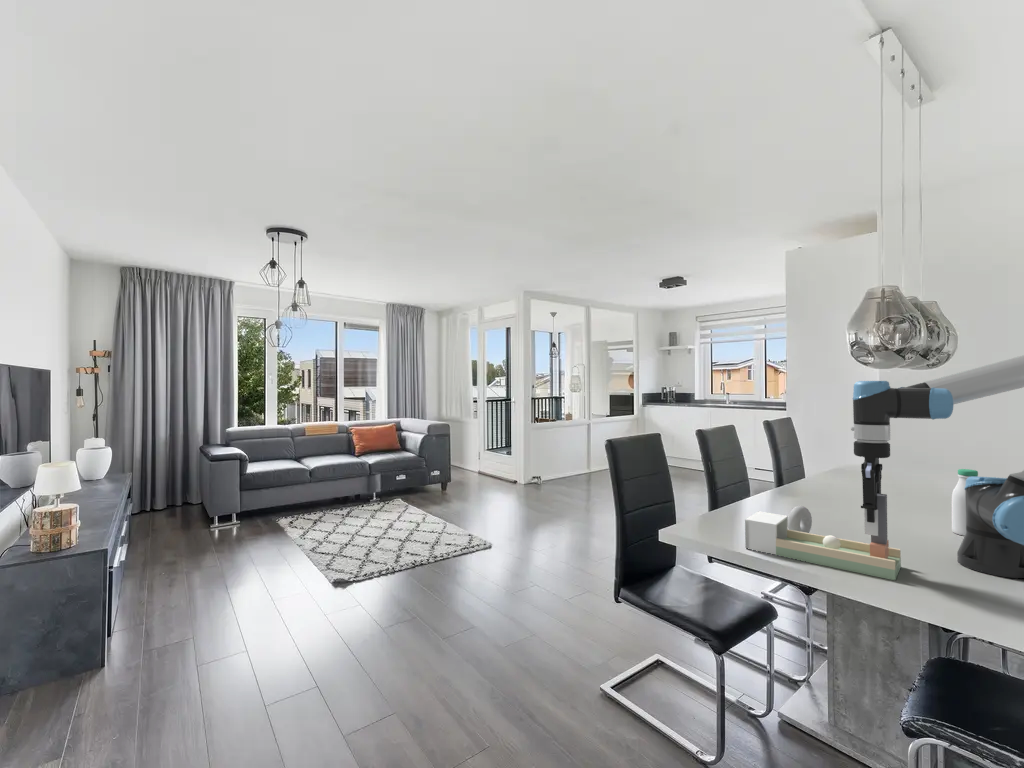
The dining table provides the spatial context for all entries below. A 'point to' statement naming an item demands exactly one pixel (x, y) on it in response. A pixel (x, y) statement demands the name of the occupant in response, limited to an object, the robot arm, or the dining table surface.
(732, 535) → the dining table surface
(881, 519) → the striker
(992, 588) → the dining table surface
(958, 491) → the milk bottle
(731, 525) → the dining table surface
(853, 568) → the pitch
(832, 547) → the ball
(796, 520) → the donut
